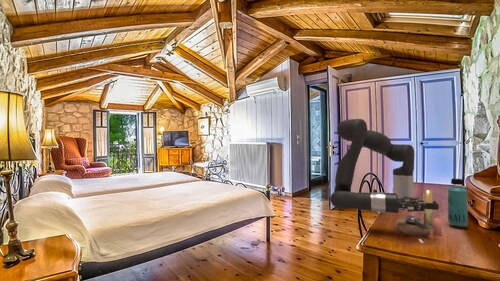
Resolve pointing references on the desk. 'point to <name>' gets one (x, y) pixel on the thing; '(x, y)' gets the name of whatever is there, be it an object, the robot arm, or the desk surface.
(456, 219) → the beverage bottle
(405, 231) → the crank plinth
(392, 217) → the desk surface
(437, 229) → the post
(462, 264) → the desk surface
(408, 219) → the crank
